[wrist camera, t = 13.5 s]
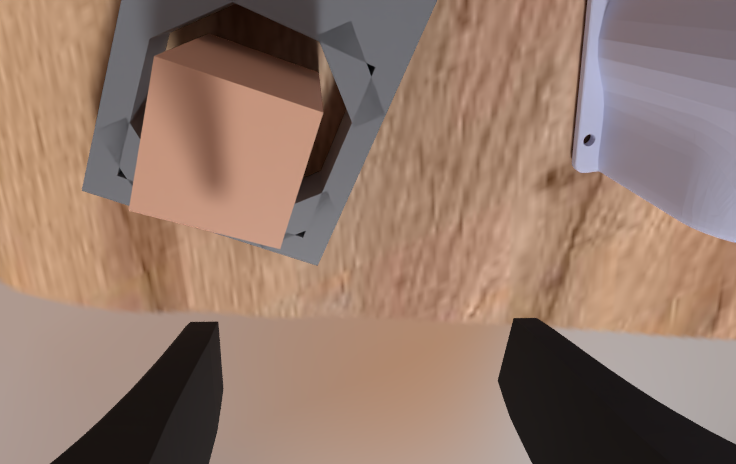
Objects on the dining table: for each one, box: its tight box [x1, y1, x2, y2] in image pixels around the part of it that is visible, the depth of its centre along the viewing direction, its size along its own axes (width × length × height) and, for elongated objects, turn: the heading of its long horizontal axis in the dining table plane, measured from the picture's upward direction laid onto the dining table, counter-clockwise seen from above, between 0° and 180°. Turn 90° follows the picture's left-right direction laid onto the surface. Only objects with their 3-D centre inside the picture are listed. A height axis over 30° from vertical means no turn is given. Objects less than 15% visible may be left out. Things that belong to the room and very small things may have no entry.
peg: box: [129, 34, 323, 249], centre depth 16 cm, size 4×4×7 cm
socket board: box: [82, 0, 437, 266], centre depth 16 cm, size 16×9×2 cm, turn 156°
